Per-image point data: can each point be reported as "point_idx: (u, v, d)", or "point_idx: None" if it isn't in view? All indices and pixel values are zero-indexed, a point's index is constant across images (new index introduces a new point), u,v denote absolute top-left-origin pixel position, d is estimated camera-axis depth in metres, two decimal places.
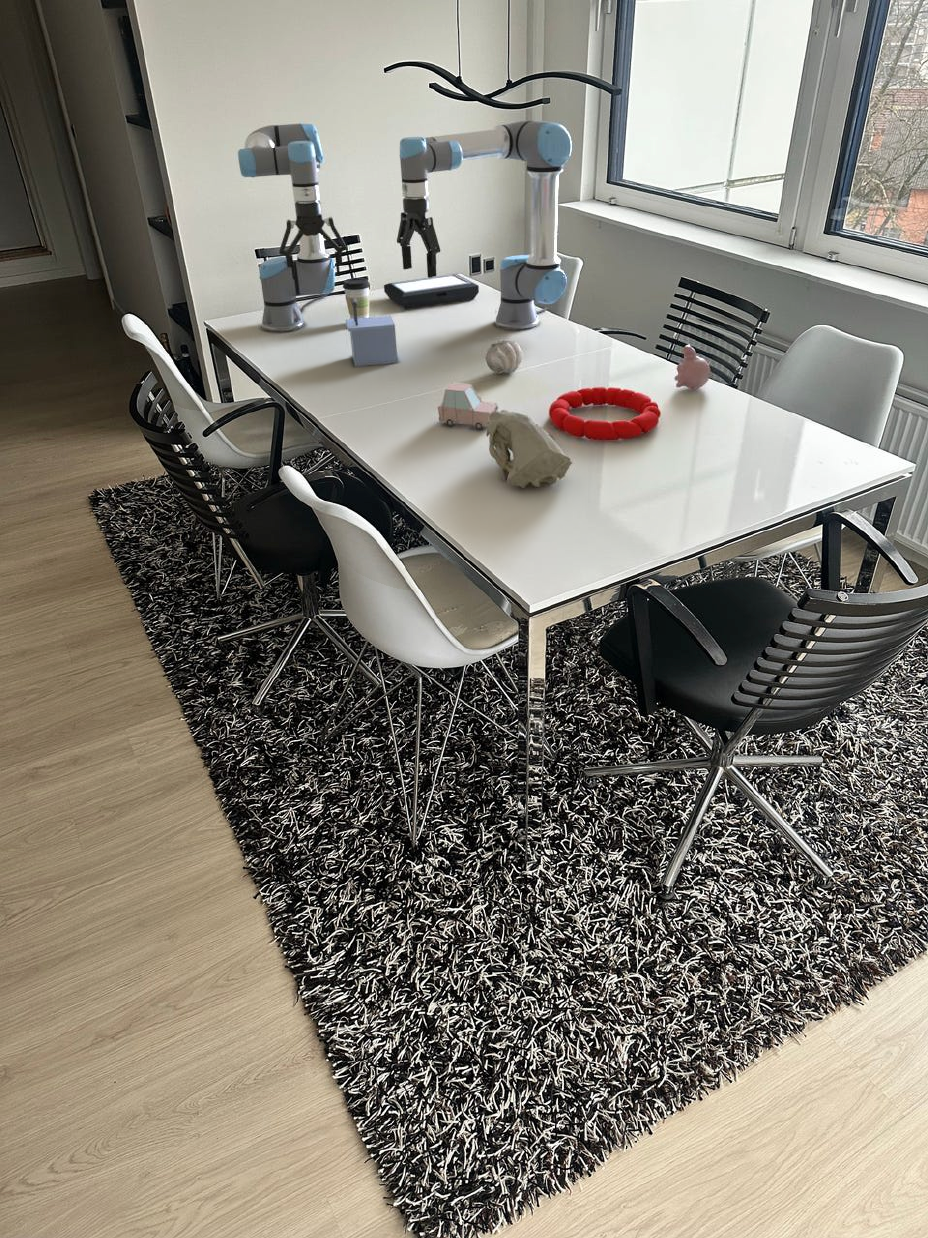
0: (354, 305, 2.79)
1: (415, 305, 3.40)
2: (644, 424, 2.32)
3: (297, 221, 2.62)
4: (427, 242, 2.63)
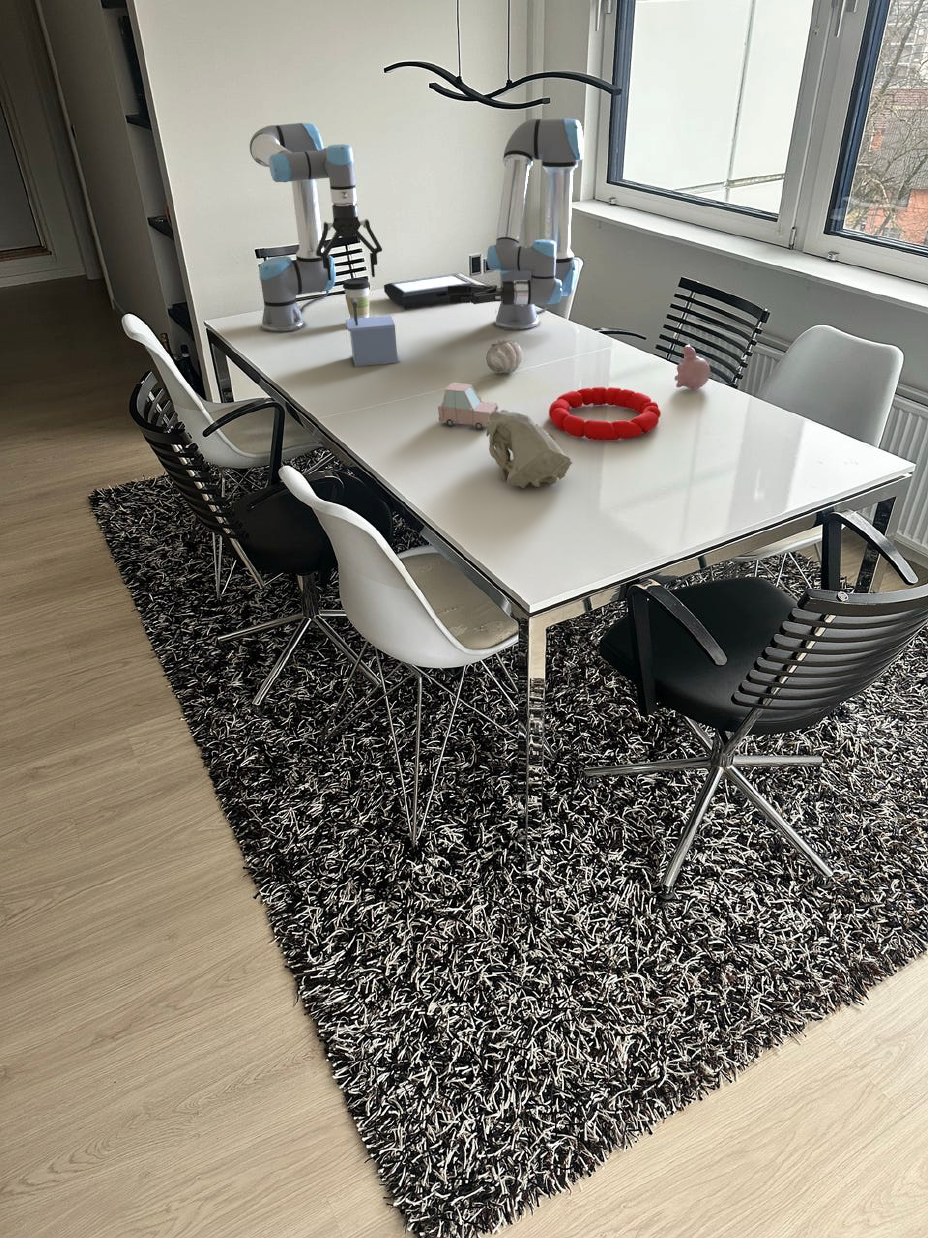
0: (354, 305, 2.79)
1: (415, 305, 3.40)
2: (644, 424, 2.32)
3: (334, 223, 2.67)
4: None
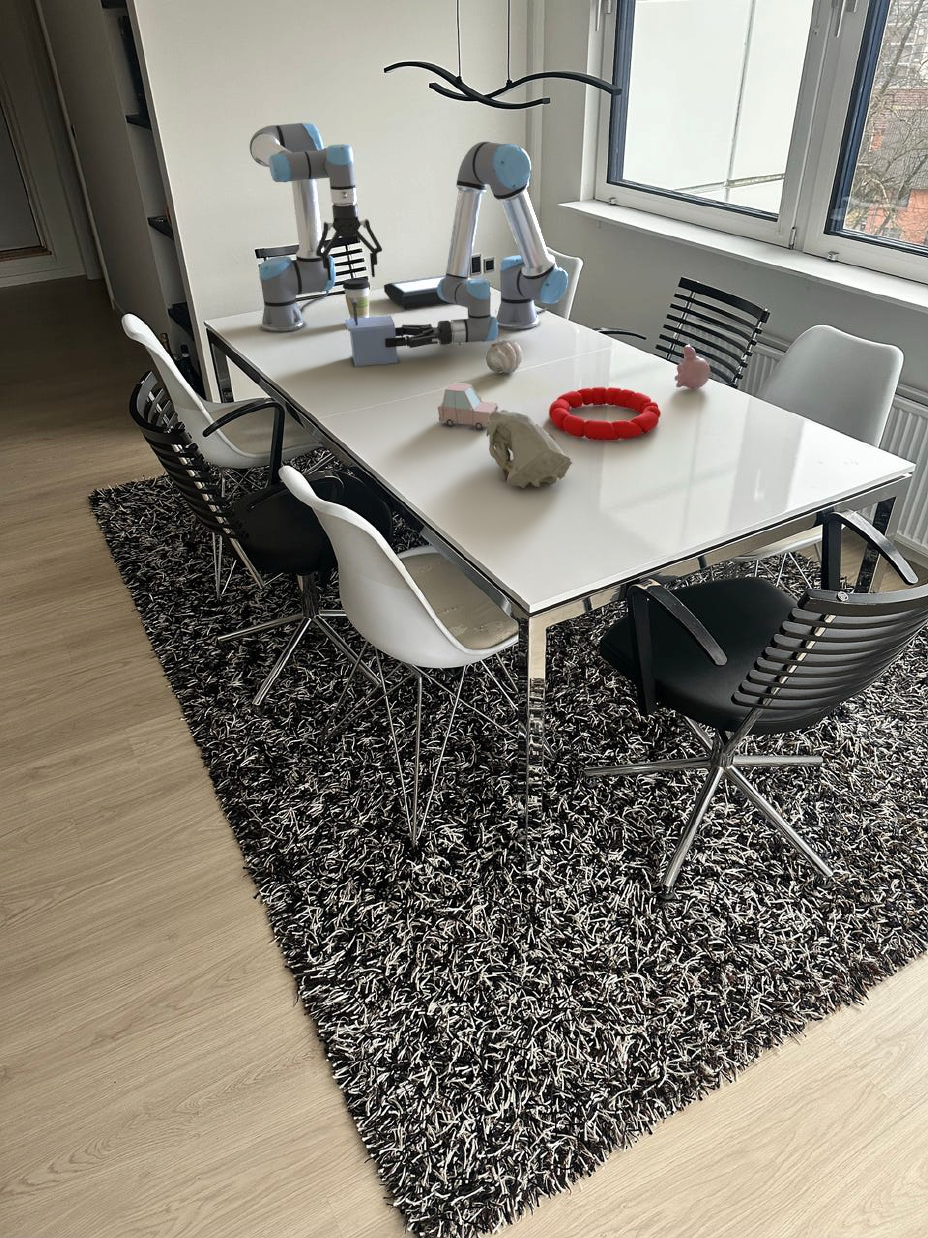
0: (354, 305, 2.79)
1: (415, 305, 3.40)
2: (644, 424, 2.32)
3: (334, 223, 2.67)
4: None
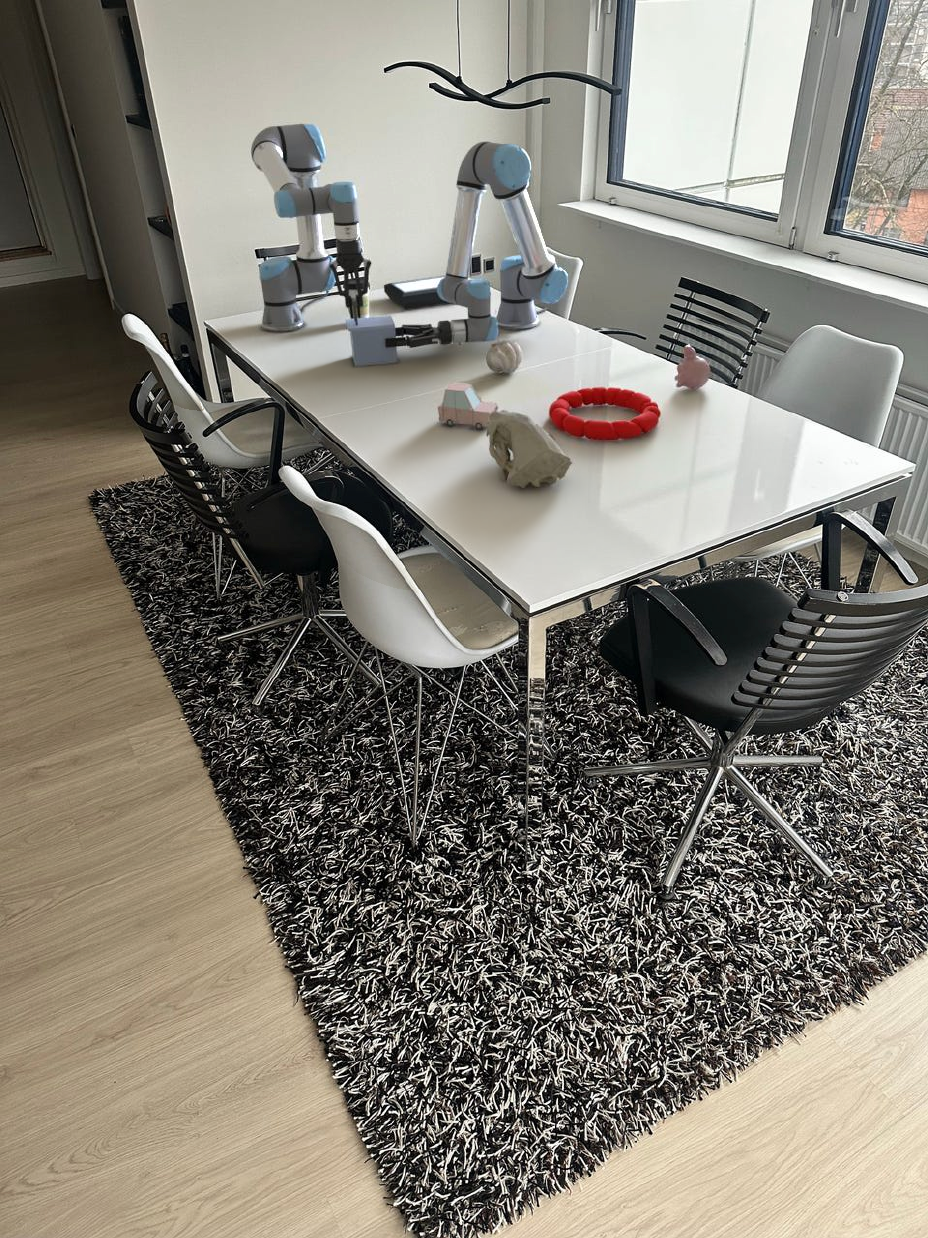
0: (354, 305, 2.79)
1: (415, 305, 3.40)
2: (644, 424, 2.32)
3: (338, 258, 2.73)
4: None
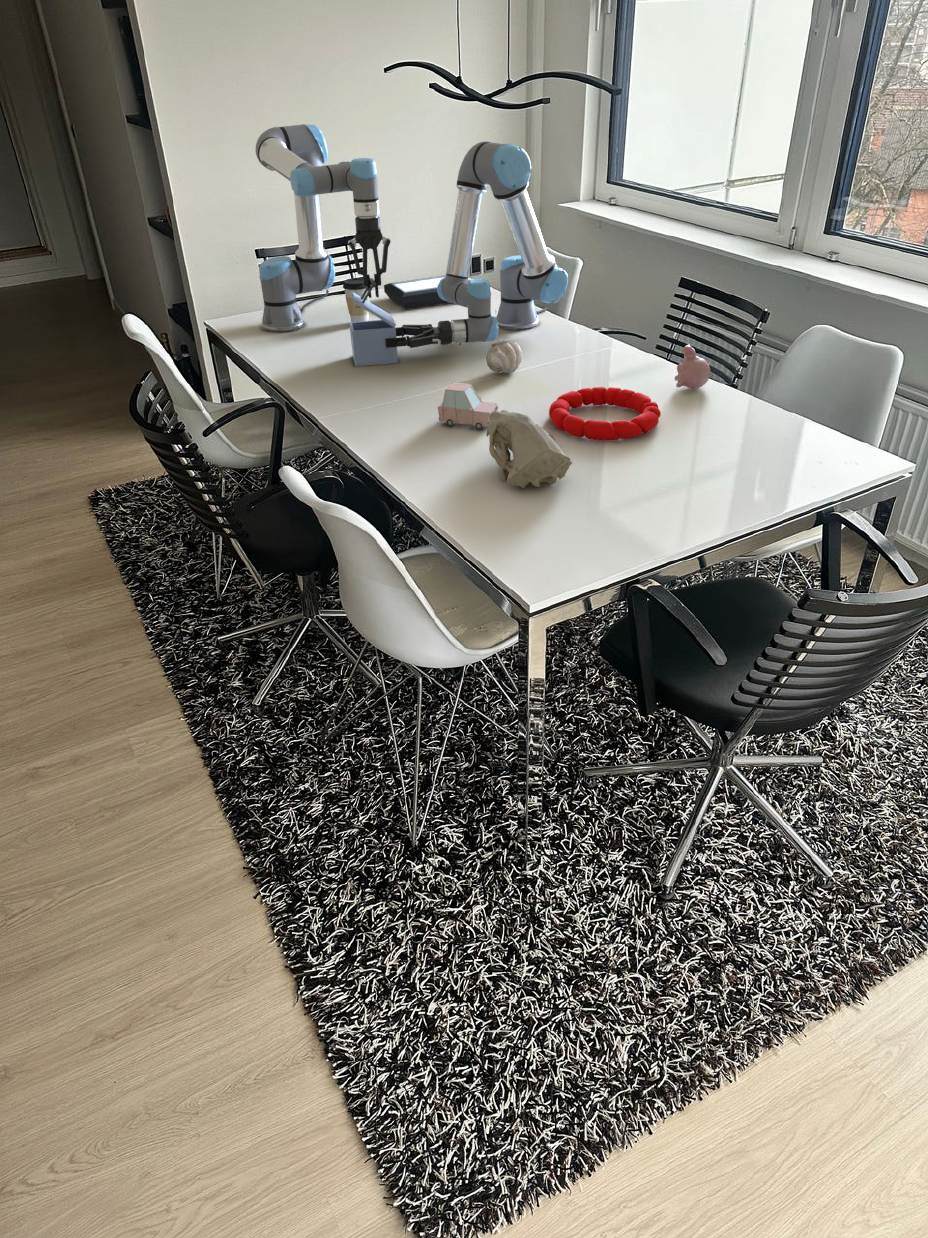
0: (372, 285, 2.77)
1: (415, 305, 3.40)
2: (644, 424, 2.32)
3: (357, 235, 2.70)
4: None
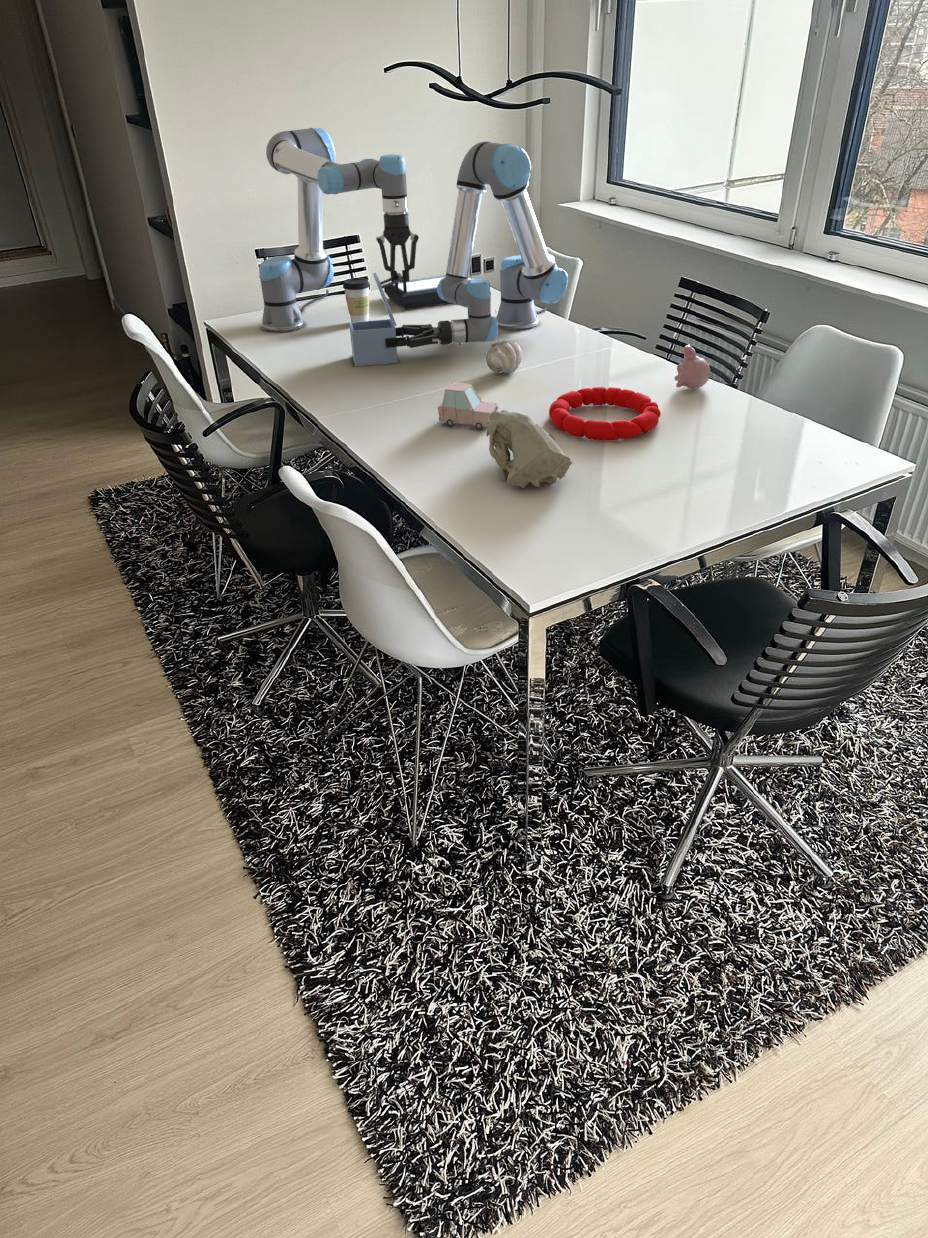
0: (400, 279, 2.78)
1: (415, 305, 3.40)
2: (644, 424, 2.32)
3: (385, 232, 2.71)
4: None
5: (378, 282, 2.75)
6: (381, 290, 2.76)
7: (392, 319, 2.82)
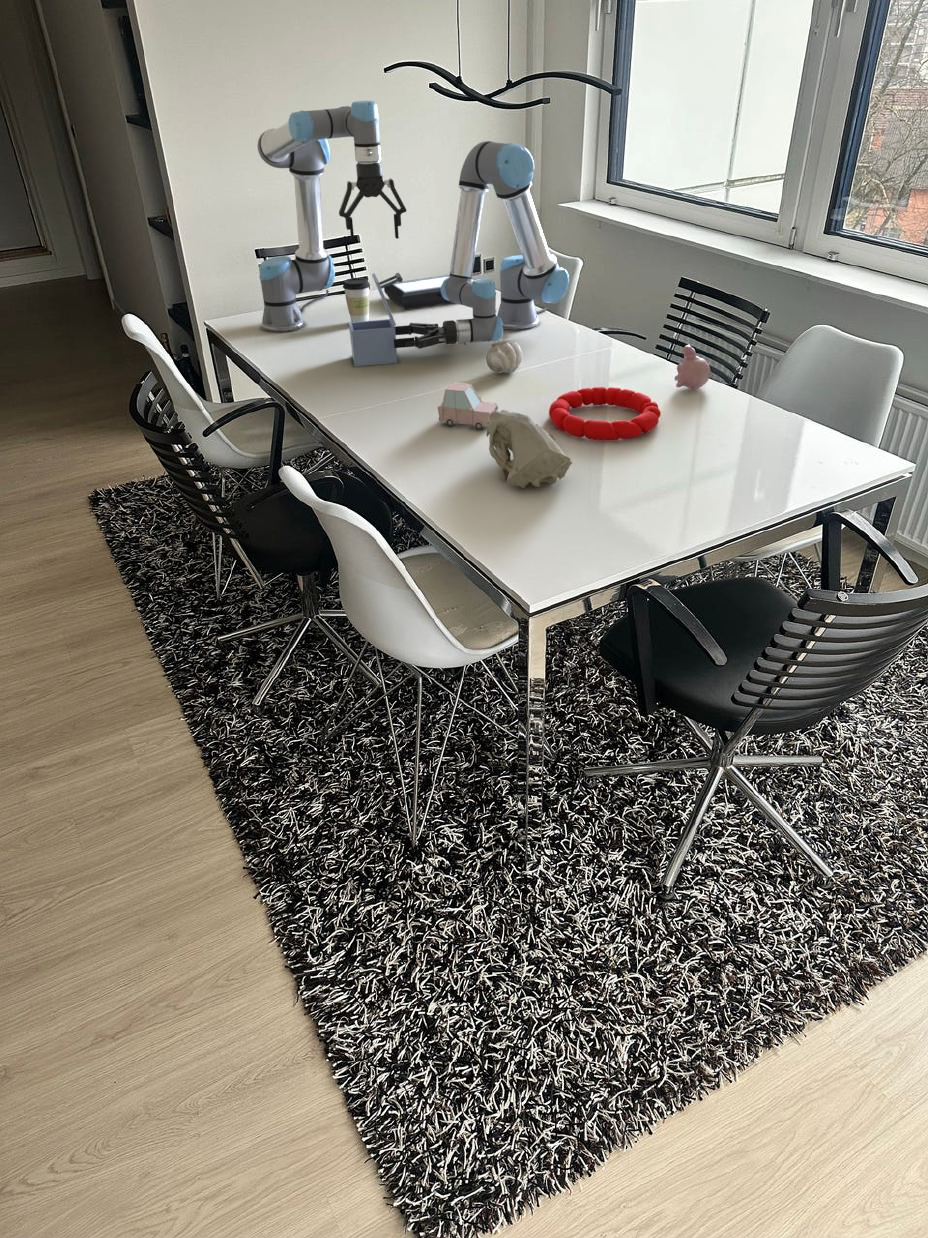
0: (399, 279, 2.78)
1: (415, 305, 3.40)
2: (644, 424, 2.32)
3: (358, 182, 2.62)
4: None
5: (377, 282, 2.75)
6: (380, 290, 2.76)
7: (392, 319, 2.82)
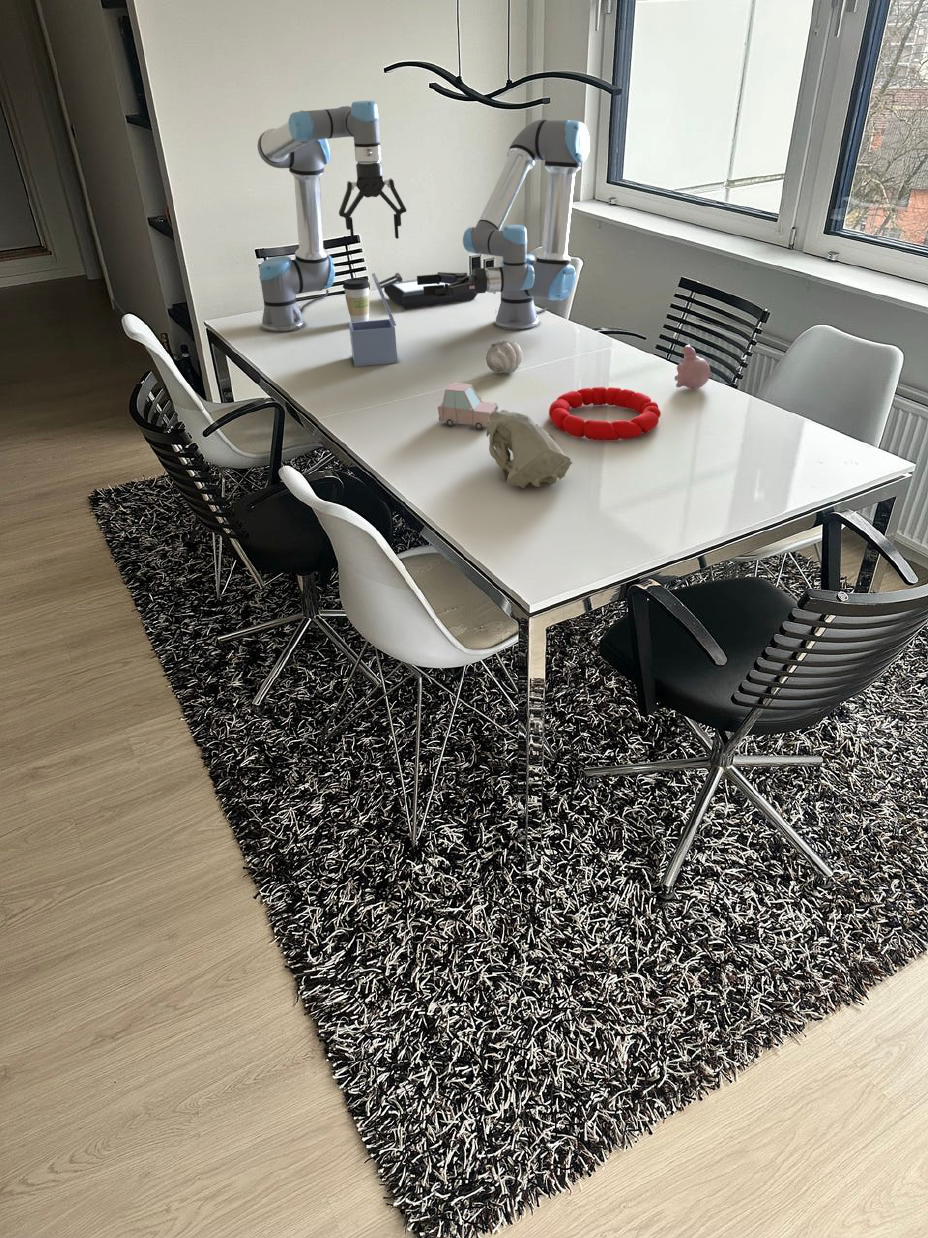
0: (398, 279, 2.78)
1: (415, 305, 3.40)
2: (644, 424, 2.32)
3: (358, 182, 2.62)
4: None
5: (377, 282, 2.75)
6: (380, 290, 2.76)
7: (392, 319, 2.82)
